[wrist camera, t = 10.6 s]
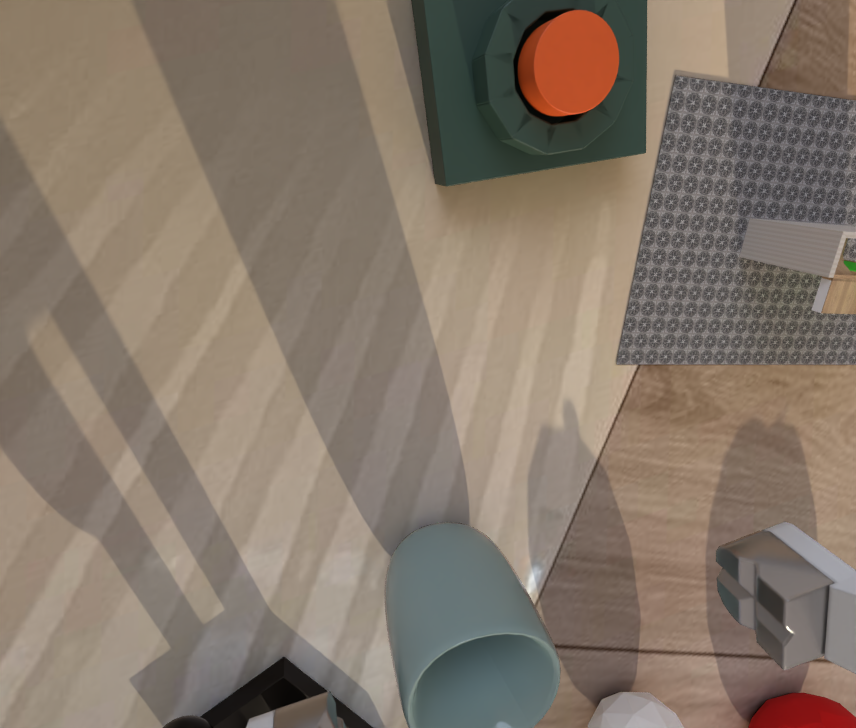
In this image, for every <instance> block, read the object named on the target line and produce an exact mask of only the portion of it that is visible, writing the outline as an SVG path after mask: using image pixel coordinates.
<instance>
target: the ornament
mask: <svg viewBox="0 0 856 728" xmlns="http://www.w3.org/2000/svg"><path fill="white" fill-rule="evenodd" d="M588 728H684V727H683V725H682V723H681V721H680V720H679V718H678V716H677V714H676V713H674V712H673V711H672V710H671V709H669V708H668V707H667V706H666V705H664V704H663V703H662V702H661V701H659V700H658V699H657V698H656V697H654V696H653V695H652V694H651V693H649V692H618V693H616V694H613V695H611V696H609V697H606V698H604V699H602V700H601V701H600V703H599V705H598V707H597V709H596V711H595V712H594V714H593V716H592V718H591V720H590V722H589V723H588Z"/></svg>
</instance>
